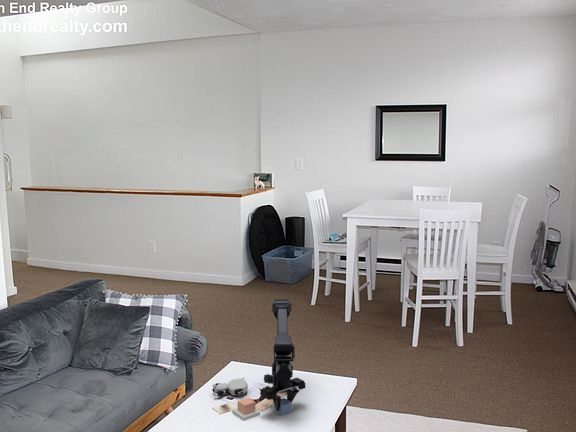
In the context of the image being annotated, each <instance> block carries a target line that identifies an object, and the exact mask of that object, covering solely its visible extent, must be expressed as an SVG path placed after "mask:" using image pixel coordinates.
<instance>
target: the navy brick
mask: <svg viewBox="0 0 576 432" xmlns="http://www.w3.org/2000/svg"><path fill="white" fill-rule="evenodd" d="M273 407H274V409H273V410H274V412H275V413H277V414H279V415H281V416H284V415H287V414H290V413H291V412H293V401H292V402H291V401H289V400H287V398H285V397H283V398H282V397H281V402H280V408H279V411H277V410H276V407H275V405H273Z"/></svg>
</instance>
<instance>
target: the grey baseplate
mask: <svg viewBox="0 0 576 432" xmlns="http://www.w3.org/2000/svg"><path fill="white" fill-rule="evenodd" d="M231 412H232V414H233V415H235V416H237V418H239V419H240V420H241V421H247V420H249V419H252V418H254V417H257V416H260V415H261V411H260V410H258V409H257V408H255V412H252V413H249V414H246V415H244V414H242V413H241V412H239V411H238V408H237V409H234V410H231Z"/></svg>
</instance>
